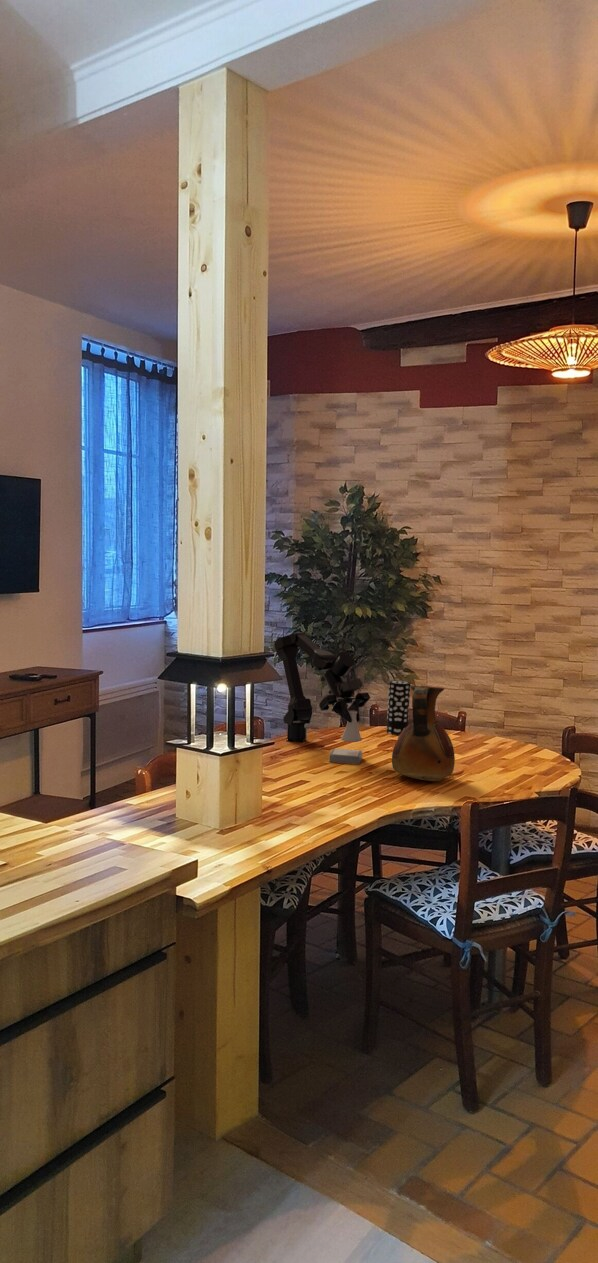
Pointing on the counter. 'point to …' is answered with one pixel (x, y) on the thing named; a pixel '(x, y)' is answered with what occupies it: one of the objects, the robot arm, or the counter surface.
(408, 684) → the white-spotted black cylinder
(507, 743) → the counter surface
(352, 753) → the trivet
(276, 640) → the robot arm
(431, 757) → the ceramic pitcher
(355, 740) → the flask
